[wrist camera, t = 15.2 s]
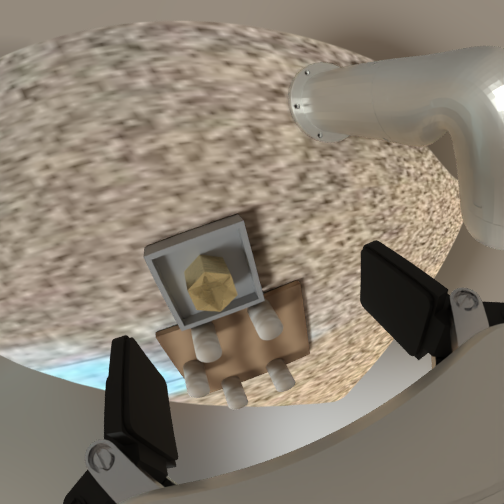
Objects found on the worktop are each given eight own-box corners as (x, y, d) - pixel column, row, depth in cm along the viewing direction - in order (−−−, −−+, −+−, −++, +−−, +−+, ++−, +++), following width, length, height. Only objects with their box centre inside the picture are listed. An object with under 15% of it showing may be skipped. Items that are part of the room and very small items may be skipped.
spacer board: (297, 277, 47) (316, 301, 40) (307, 351, 57) (322, 374, 51) (154, 330, 43) (155, 361, 36) (197, 393, 53) (204, 419, 47)
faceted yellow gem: (179, 261, 38) (182, 280, 33) (219, 247, 39) (227, 263, 34) (196, 298, 41) (200, 318, 37) (232, 285, 42) (241, 304, 38)
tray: (237, 213, 38) (243, 220, 36) (258, 290, 45) (264, 300, 43) (144, 247, 36) (143, 256, 34) (179, 319, 43) (181, 331, 41)
